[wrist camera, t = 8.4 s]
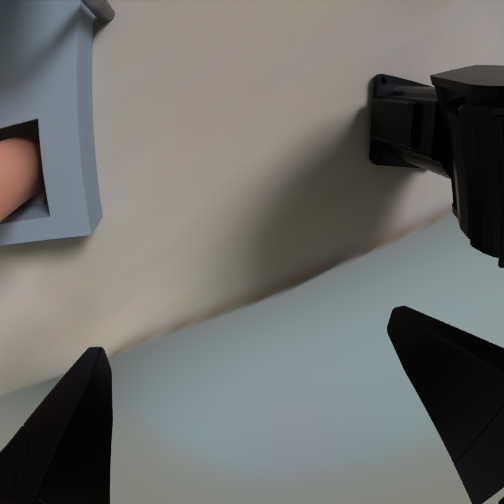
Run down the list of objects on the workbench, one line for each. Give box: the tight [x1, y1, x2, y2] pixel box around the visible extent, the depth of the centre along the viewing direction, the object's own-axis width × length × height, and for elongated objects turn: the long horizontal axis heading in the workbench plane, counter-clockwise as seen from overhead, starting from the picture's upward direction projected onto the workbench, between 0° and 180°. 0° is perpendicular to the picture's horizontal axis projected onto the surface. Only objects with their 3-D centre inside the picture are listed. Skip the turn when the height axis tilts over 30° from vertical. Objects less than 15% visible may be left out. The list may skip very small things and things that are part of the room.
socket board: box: [0, 0, 102, 245], centre depth 12 cm, size 10×18×3 cm, turn 179°
